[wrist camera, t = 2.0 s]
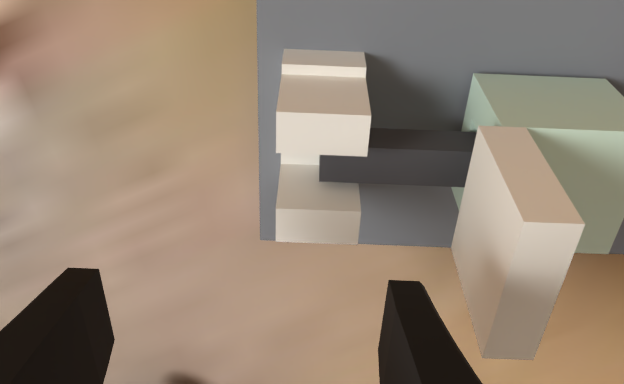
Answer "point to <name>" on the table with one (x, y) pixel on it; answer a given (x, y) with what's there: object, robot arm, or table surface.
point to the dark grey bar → (405, 159)
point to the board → (398, 98)
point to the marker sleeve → (534, 199)
